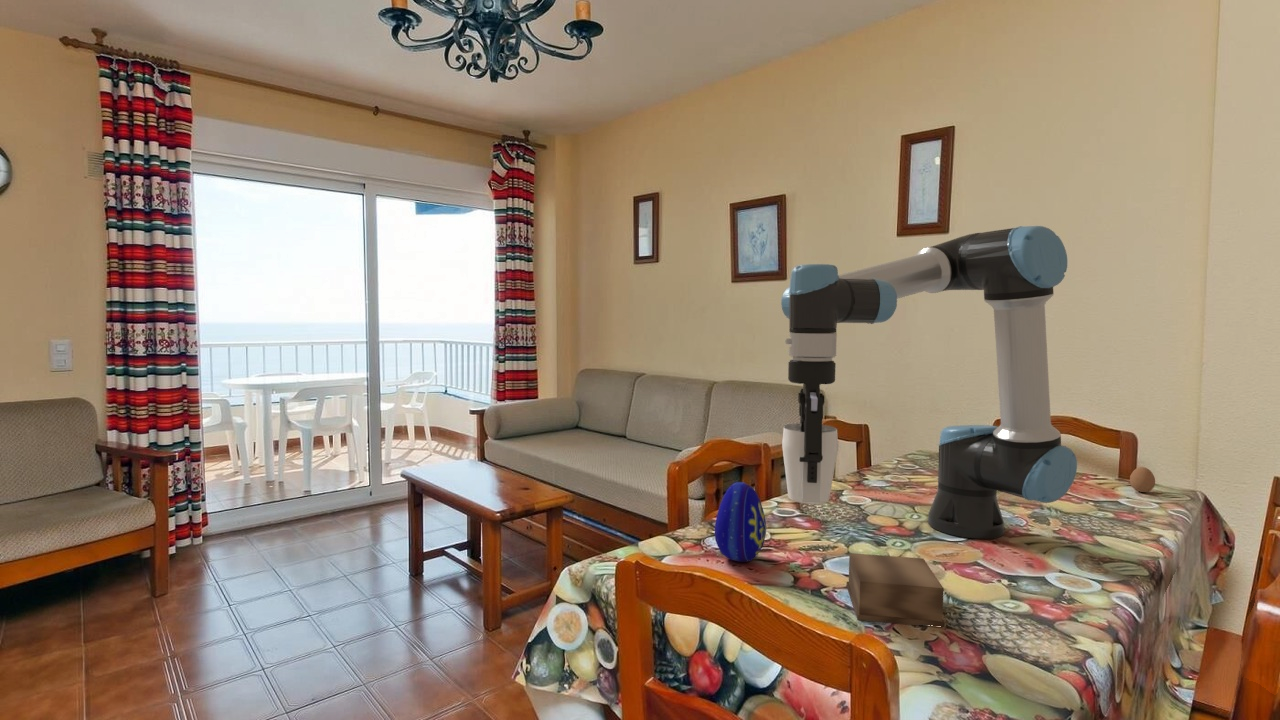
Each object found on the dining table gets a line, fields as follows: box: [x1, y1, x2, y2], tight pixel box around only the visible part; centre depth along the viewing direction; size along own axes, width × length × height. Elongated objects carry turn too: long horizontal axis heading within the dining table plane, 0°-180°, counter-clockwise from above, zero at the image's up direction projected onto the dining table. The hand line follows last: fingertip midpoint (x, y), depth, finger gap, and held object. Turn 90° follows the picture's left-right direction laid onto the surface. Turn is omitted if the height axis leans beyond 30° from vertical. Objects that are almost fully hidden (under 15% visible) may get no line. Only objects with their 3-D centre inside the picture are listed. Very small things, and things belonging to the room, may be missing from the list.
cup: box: [781, 423, 839, 505], centre depth 105 cm, size 9×9×12 cm
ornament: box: [714, 481, 767, 563], centre depth 121 cm, size 11×9×15 cm
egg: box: [1129, 466, 1156, 493], centre depth 171 cm, size 5×5×7 cm
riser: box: [846, 552, 946, 628], centre depth 102 cm, size 13×13×6 cm
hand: (808, 493), depth 106 cm, fingers closed on cup, 9 cm apart
